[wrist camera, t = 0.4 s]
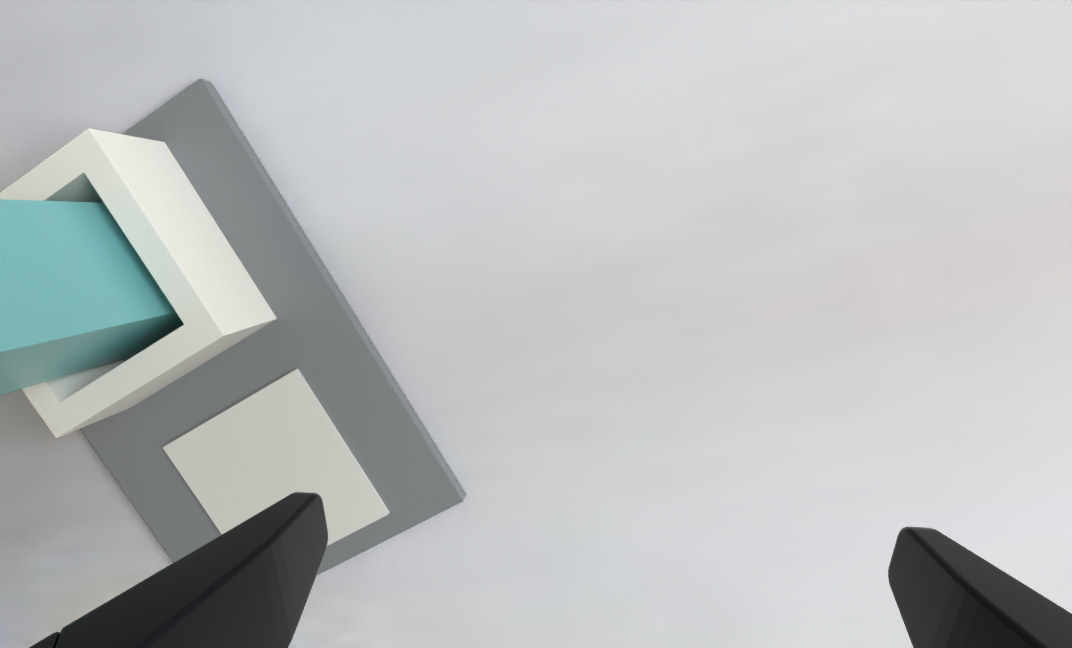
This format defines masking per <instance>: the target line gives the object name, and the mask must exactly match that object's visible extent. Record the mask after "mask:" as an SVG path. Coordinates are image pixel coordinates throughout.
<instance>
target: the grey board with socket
mask: <svg viewBox="0 0 1072 648" xmlns="http://www.w3.org/2000/svg"><path fill="white" fill-rule="evenodd" d="M0 199H6V200H36V201H67V202H97V203H105V205H106V206H107V208H108V209H109V211H110V212H111V214H112V215H113V217H114V219H115V220H116V222H117V223H118V225H119V226H120V228H121V229H122V231H123V232H124V234H125V235H126V237H127V238H128V240H129V241H130V243H131V244H132V246H133V247H134V249H135V250H136V252H137V253H138V255H139V256H140V258H141V259H142V261H143V263H144V264H145V266H146V267H147V269H148V270H149V272H150V273H151V275H152V276H153V278H154V279H155V281H156V282H157V284H158V285H159V287H160V288H161V290H162V291H163V293H164V294H165V296H166V297H167V299H168V300H169V302H170V303H171V305H172V306H173V308H174V310H175V311H176V313H177V314H178V316H179V317H180V319H181V320H182V322H183V323H184V325H183V326H181V327H180V328H178V329H176V330H175V331H173V332H172V333H170V334H168V335H167V336H165V337H164V338H162V339H160V340H159V341H157V342H156V343H154V344H152V345H151V346H149V347H148V348H146V349H144V350H143V351H141V352H140V353H138V354H136V355H133V356H129V357H126V358H123V359H119V360H116V361H113V362H110V363H106V364H103V365H100V366H96V367H93V368H90V369H86V370H83V371H80V372H76V373H73V374H70V375H66V376H63V377H60V378H56V379H53V380H50V381H46V382H43V383H40V384H36V385H33V386H30V387H26V388H23V389H22V391H23V392H24V393H25V395H26V396H27V398H28V399H29V401H30V402H31V403H32V405H33V406H34V408H35V409H36V410H37V412H38V413H39V415H40V416H41V417H42V419H43V420H44V422H45V423H46V425H47V426H48V427H49V429H50V430H51V432H52V433H53V434H54V436H55V437H56V438H59V437H61V436H64V435H66V434H68V433H71V432H73V431H76V430H78V429H80V430H81V431H82V433H83V434H84V436H85V437H86V439H87V440H88V441H89V443H90V444H91V446H92V447H93V449H94V450H95V451H96V453H97V454H98V456H99V457H100V459H101V460H102V461H103V463H104V464H105V466H106V467H107V469H108V470H109V471H110V473H111V474H112V476H113V477H114V479H115V480H116V481H117V483H118V484H119V486H120V487H121V489H122V490H123V491H124V493H125V494H126V496H127V497H128V499H129V500H130V501H131V503H132V504H133V506H134V507H135V509H136V510H137V511H138V513H139V514H140V516H141V517H142V519H143V520H144V521H145V523H146V524H147V526H148V527H149V529H150V530H151V531H152V533H153V534H154V536H155V537H156V539H157V540H158V541H159V543H160V544H161V546H162V547H163V549H164V550H165V551H166V553H167V554H168V556H169V557H170V559H171V560H172V561H173V563H174V562H176V561H178V560H179V559H181V558H183V557H184V556H186V555H188V554H190V553H191V552H193V551H195V550H196V549H198V548H200V547H201V546H203V545H205V544H207V543H208V542H210V541H212V540H213V539H215V538H217V537H218V536H220V535H222V534H224V533H225V532H227V531H229V530H230V529H232V528H234V527H235V526H237V525H239V524H241V523H242V522H244V521H246V520H247V519H249V518H251V517H252V516H254V515H256V514H258V513H259V512H261V511H263V510H264V509H266V508H268V507H269V506H271V505H273V504H275V503H276V502H278V501H280V500H281V499H283V498H285V497H286V496H288V495H290V494H292V493H294V492H308V493H317V494H319V495H320V496H321V498H322V501H323V506H324V512H325V517H326V523H327V529H328V543H327V548H326V551H325V553H324V556H323V559H322V561H321V564H320V567H319V569H318V572H317V575H318V574H320V573H322V572H324V571H326V570H328V569H330V568H332V567H334V566H336V565H338V564H340V563H342V562H344V561H346V560H348V559H350V558H352V557H354V556H356V555H358V554H360V553H362V552H364V551H366V550H368V549H370V548H372V547H374V546H375V545H377V544H379V543H381V542H383V541H385V540H387V539H389V538H391V537H393V536H395V535H397V534H399V533H401V532H403V531H405V530H407V529H409V528H411V527H413V526H415V525H417V524H419V523H421V522H423V521H425V520H427V519H429V518H431V517H433V516H435V515H437V514H439V513H441V512H443V511H445V510H446V509H448V508H450V507H452V506H454V505H456V504H458V503H460V502H462V501H463V500H464V498H465V496H466V493H465V492H464V490H463V488H462V487H461V485H460V484H459V482H458V480H457V479H456V477H455V476H454V474H453V472H452V471H451V469H450V467H449V466H448V464H447V463H446V461H445V459H444V458H443V456H442V455H441V453H440V451H439V450H438V448H437V446H436V445H435V443H434V442H433V440H432V438H431V437H430V435H429V434H428V432H427V430H426V429H425V427H424V425H423V424H422V422H421V421H420V419H419V417H418V416H417V414H416V413H415V411H414V409H413V408H412V406H411V404H410V403H409V401H408V400H407V398H406V396H405V395H404V393H403V392H402V390H401V388H400V387H399V385H398V383H397V382H396V380H395V379H394V377H393V375H392V374H391V372H390V371H389V369H388V367H387V366H386V364H385V362H384V361H383V359H382V358H381V356H380V354H379V353H378V351H377V350H376V348H375V346H374V345H373V343H372V341H371V340H370V338H369V337H368V335H367V333H366V332H365V330H364V328H363V327H362V325H361V324H360V322H359V320H358V319H357V317H356V316H355V314H354V312H353V311H352V309H351V307H350V306H349V304H348V303H347V301H346V299H345V298H344V296H343V295H342V293H341V291H340V290H339V288H338V286H337V285H336V283H335V282H334V280H333V278H332V277H331V275H330V274H329V272H328V270H327V269H326V267H325V265H324V264H323V262H322V261H321V259H320V257H319V256H318V254H317V253H316V251H315V249H314V248H313V246H312V244H311V243H310V241H309V240H308V238H307V236H306V235H305V233H304V232H303V230H302V228H301V227H300V225H299V223H298V222H297V220H296V219H295V217H294V215H293V214H292V212H291V211H290V209H289V207H288V206H287V204H286V202H285V201H284V199H283V198H282V196H281V194H280V193H279V191H278V190H277V188H276V186H275V185H274V183H273V181H272V180H271V178H270V177H269V175H268V173H267V172H266V170H265V169H264V167H263V165H262V164H261V162H260V160H259V159H258V157H257V156H256V154H255V152H254V151H253V149H252V148H251V146H250V144H249V143H248V141H247V139H246V138H245V136H244V135H243V133H242V131H241V130H240V128H239V127H238V125H237V123H236V122H235V120H234V118H233V117H232V115H231V114H230V112H229V110H228V109H227V107H226V106H225V104H224V102H223V101H222V99H221V97H220V96H219V94H218V93H217V91H216V89H215V88H214V86H213V85H212V83H211V82H209V81H206V80H204V79H201V78H200V79H199V80H198V81H196V82H195V83H193V84H192V85H191V86H189V87H188V88H186V89H185V90H184V91H182V92H181V93H179V94H178V95H177V96H175V97H174V98H172V99H171V100H170V101H168V102H167V103H165V104H164V105H163V106H161V107H160V108H159V109H157V110H156V111H154V112H153V113H152V114H150V115H149V116H147V117H146V118H145V119H143V120H142V121H140V122H139V123H138V124H136V125H135V126H133V127H132V128H131V129H129V130H128V131H126V132H125V133H124V134H117V133H111V132H106V131H100V130H95V129H89V128H88V129H87V130H85V131H84V132H83V133H81V134H80V135H79V136H77V137H76V138H74V139H73V140H72V141H70V142H69V143H68V144H66V145H65V146H63V147H62V148H61V149H59V150H58V151H57V152H55V153H54V154H52V155H51V156H50V157H48V158H47V159H46V160H44V161H43V162H41V163H40V164H39V165H37V166H36V167H35V168H33V169H32V170H30V171H29V172H28V173H26V174H25V175H24V176H22V177H21V178H19V179H18V180H17V181H15V182H14V183H13V184H11V185H10V186H8V187H7V188H6V189H4V190H3V191H2V192H0Z"/></svg>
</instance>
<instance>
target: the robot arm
mask: <svg viewBox="0 0 1072 648" xmlns="http://www.w3.org/2000/svg"><path fill="white" fill-rule="evenodd" d="M327 543H328V529H327V523H326V517H325V512H324V506H323V501H322V498H321V496H320V495H319V494H317V493H308V492H294V493H292V494H290V495H288V496H286V497H285V498H283V499H281V500H280V501H278V502H276V503H275V504H273V505H271V506H269V507H268V508H266V509H264V510H263V511H261V512H259V513H258V514H256V515H254V516H252V517H251V518H249V519H247V520H246V521H244V522H242V523H241V524H239V525H237V526H235V527H234V528H232V529H230V530H229V531H227V532H225V533H224V534H222V535H220V536H218V537H217V538H215V539H213V540H212V541H210V542H208V543H207V544H205V545H203V546H201V547H200V548H198V549H196V550H195V551H193V552H191V553H190V554H188V555H186V556H184V557H183V558H181V559H179V560H178V561H176V562H174V563H173V564H171V565H169V566H167V567H166V568H164V569H162V570H161V571H159V572H157V573H155V574H154V575H152V576H150V577H149V578H147V579H145V580H144V581H142V582H140V583H138V584H137V585H135V586H133V587H132V588H130V589H128V590H127V591H125V592H123V593H121V594H120V595H118V596H116V597H115V598H113V599H111V600H110V601H108V602H106V603H104V604H103V605H101V606H99V607H98V608H96V609H94V610H92V611H91V612H89V613H87V614H86V615H84V616H82V617H81V618H79V619H77V620H75V621H74V622H72V623H70V624H69V625H67V626H65V627H64V628H63V629H62V630H61V632H60V633H59V632H55V633H53V634H51V635H50V636H48V637H46V638H45V639H43V640H41V641H40V642H38V643H36V644H35V645H33V646H31V647H29V648H288V647H289V644H290V642H291V640H292V638H293V635H294V633H295V630H296V628H297V625H298V623H299V620H300V617H301V615H302V612H303V609H304V607H305V604H306V601H307V599H308V596H309V593H310V591H311V588H312V585H313V583H314V580H315V577H316V575H317V572H318V569H319V567H320V564H321V561H322V559H323V556H324V553H325V551H326V548H327ZM888 577H889V583H890V587H891V589H892V592H893V595H894V597H895V600H896V603H897V605H898V608H899V611H900V613H901V616H902V619H903V621H904V624H905V627H906V629H907V632H908V635H909V637H910V640H911V643H912V645H913V648H1072V614H1071V613H1070V612H1068V611H1066V610H1065V609H1063V608H1062V607H1060V606H1058V605H1057V604H1055V603H1054V602H1052V601H1050V600H1049V599H1047V598H1045V597H1044V596H1042V595H1041V594H1039V593H1037V592H1036V591H1034V590H1032V589H1031V588H1029V587H1028V586H1026V585H1024V584H1023V583H1021V582H1020V581H1018V580H1016V579H1015V578H1013V577H1011V576H1010V575H1008V574H1007V573H1005V572H1003V571H1002V570H1000V569H999V568H997V567H995V566H994V565H992V564H990V563H989V562H987V561H986V560H984V559H982V558H981V557H979V556H978V555H976V554H974V553H973V552H971V551H969V550H968V549H966V548H965V547H963V546H961V545H960V544H958V543H956V542H955V541H953V540H952V539H950V538H948V537H947V536H945V535H944V534H942V533H940V532H939V531H937V530H935V529H932V528H922V527H905V528H903V529H901V531H900V532H899V534H898V537H897V541H896V544H895V548H894V551H893V555H892V558H891V562H890V565H889V570H888Z"/></svg>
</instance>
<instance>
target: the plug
mask: <svg viewBox="0 0 1072 648" xmlns="http://www.w3.org/2000/svg"><path fill="white" fill-rule="evenodd" d="M183 325H184V323H183V322H182V320H181V319H180V317H179V316H178V314H177V313H176V311H175V310H174V308H173V306H172V305H171V303H170V302H169V300H168V299H167V297H166V296H165V294H164V293H163V291H162V290H161V288H160V287H159V285H158V284H157V282H156V281H155V279H154V278H153V276H152V275H151V273H150V272H149V270H148V269H147V267H146V266H145V264H144V263H143V261H142V259H141V258H140V256H139V255H138V253H137V252H136V250H135V249H134V247H133V246H132V244H131V243H130V241H129V240H128V238H127V237H126V235H125V234H124V232H123V231H122V229H121V228H120V226H119V225H118V223H117V222H116V220H115V219H114V217H113V215H112V214H111V212H110V211H109V209H108V208H107V206H106V205H105V203H97V202H67V201H36V200H6V199H0V395H3V394H6V393H10V392H13V391H16V390H20V389H23V388H26V387H30V386H33V385H36V384H40V383H43V382H46V381H50V380H53V379H56V378H60V377H63V376H66V375H70V374H73V373H76V372H80V371H83V370H86V369H90V368H93V367H96V366H100V365H103V364H106V363H110V362H113V361H116V360H119V359H123V358H126V357H129V356H133V355H136V354H138V353H140V352H141V351H143V350H144V349H146V348H148V347H149V346H151V345H152V344H154V343H156V342H157V341H159V340H160V339H162V338H164V337H165V336H167V335H168V334H170V333H172V332H173V331H175V330H176V329H178V328H180V327H181V326H183Z"/></svg>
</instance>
